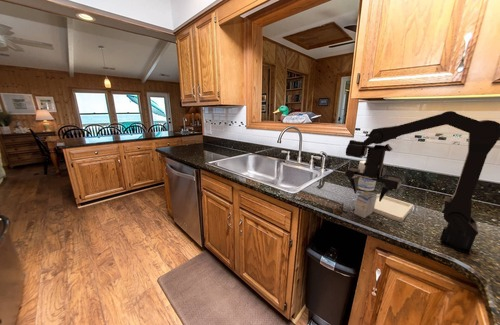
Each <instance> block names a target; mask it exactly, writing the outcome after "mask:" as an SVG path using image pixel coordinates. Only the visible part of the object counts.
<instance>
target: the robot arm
mask: <svg viewBox="0 0 500 325" xmlns="http://www.w3.org/2000/svg"><path fill="white" fill-rule="evenodd" d="M441 126H450V127H453V128H455V129H456V130H457V129H458V130H460V131H462V132H465V133H468V144H467V153H466V157H465V160H464V162H463V165H462V166H463V167H462V170H461V172H460V175H459V179H458V181H457V185H456V186H455V187H456V188H455V191H454V193H453V194H452V196H448V195H445V197H444V202H443V203H444V204H442V205H441V210H440V211H441V212H440V213H441V214H443V219H444V221H445V222H446V223H447V224H446V226H443V229H442V232H441V235H440V237H439V240H440V245H442V246H445V247H447V248H450V249H452V250H455V251H457V252H461V253H462V254H465V255H468V256H470V255H471V253H472V252H471V250H472V247H473V244H474V242H475V240H476V237H477V236H478V235H479V231H478V225H477V221H476V220H475V218H473V217H472V206H473V205H472V204H473V203H472V199H473V196H474V195H475V192H476V191H475V190H476V189H477V188H476V187H477V185H478V182H479V179H480V177H481V174H482V171H483V168H484V165H485V162H486V160H487V157H488V154H489V153H490V152H491V150H492V149H493V148H494V147H495V145H496V144H497V143H498V141H499V139H500V122H497V121H496V120H495V121H494V120H490V119H482V120H477V119H474V118H472V117H468V116H465V115H462V114H460V113H457V112H456V111H453V110H448V111H444V112H441V113H439V114H436V115H431V116H427V117H425V118H421V119H417V120H415V121H411V122H407V123H403V124H400V125H394V126H393V125H392V126H385V127H378V128H374V129H372V130H371V131H370V132H369V134H368V137H367V138H366V139H364V140H363V141H361V140H359V141H358V140H354V139H350V140H349V142H348V144H347V147H346V148H345V156H347V157H352V158H359V159H363V158H364V157H366V159H365V161H366V162H365V163H364V165H365V168H364V172H363V173H361V172H360V170H359V169H358V168H354V167H350V168H348V169H346V170H345V171H344V176H345V177H346V178H347V179H348V180H349V181H350V184H351V186H352V190H353V192H354V194H357V193H358V181H359V178H360V177H362V178H366V179H370V180H374V181H376V182H379V183H383V185H384V186H382V188H381V192H380V193H379V194H380V198H379V201H381V200H382V199H383V198H384V196H387V195H386V194H388V192H389V191H393V190H398V189H400V187H401V186H402V182H403V181H402V179H401V178H397V177H393V176H388V177H384V176H385V173H386V171H387V170H386V169H387V168H386V167H384V162H385V161H384V160H385V156H386V152H391V151H393V150H394V149H393V148H392V147H391V145H390V144H389V143H387V144H385V145H382V144H383V143H386V142H388V141H391V140H393V139H395V138H398V137H401V136H405V135H408V134H412V133H417V132H421V131H424V130H429V129H432V128H437V127H441ZM374 144H375V145H374ZM370 145H374V146H370ZM367 176H368V177H367ZM375 178H377V179H375Z"/></svg>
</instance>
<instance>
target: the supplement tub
mask: <svg viewBox="0 0 500 325" xmlns="http://www.w3.org/2000/svg"><path fill="white" fill-rule="evenodd" d="M365 162H366V160H360V161H359V164H358V166H357V167H358V168H357V169H359V170H360V172H361V173H363V172H364V168H365V165H364V163H365ZM367 177H368V176H367ZM375 179H377V178H375ZM376 184H377V181H374V180H370V179H366V178H362V177H360V178H359V181H358V189H359V190H362V191H364V192H365V191H368V192H372V191H374V190H375V187H376Z"/></svg>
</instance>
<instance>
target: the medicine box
mask: <svg viewBox="0 0 500 325" xmlns="http://www.w3.org/2000/svg"><path fill="white" fill-rule="evenodd" d="M377 194H378V193H374V192H372V191H365V190H364V192H362V193H360V194H358V195H357V197H356V201H355V207H354V214H355V215H357V216H359V217H360V218H363V219H366V218H367V217H368V216H371V214H373V213H374V212H373V211H374V206H375V202H376V198H377Z"/></svg>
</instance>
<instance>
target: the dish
mask: <svg viewBox="0 0 500 325" xmlns="http://www.w3.org/2000/svg"><path fill="white" fill-rule="evenodd" d="M376 194H377V198H376V202H375V206H374V211H373V213H375V214H377V215H379V216H382V217H385V218H387V219H390V220H393V221H395V222H399V223H402V222H403V221H404V219H405V218H406V217H407V216H408V215H409V214H410V212H411V211H412V210H413V208H414V203H410V202H407V201H403V200H400V199H396V198H394V197H390V196H387V195H385V196H384V198H383V199H382V200H381V201H379V198H380V194H381V193H376Z"/></svg>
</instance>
